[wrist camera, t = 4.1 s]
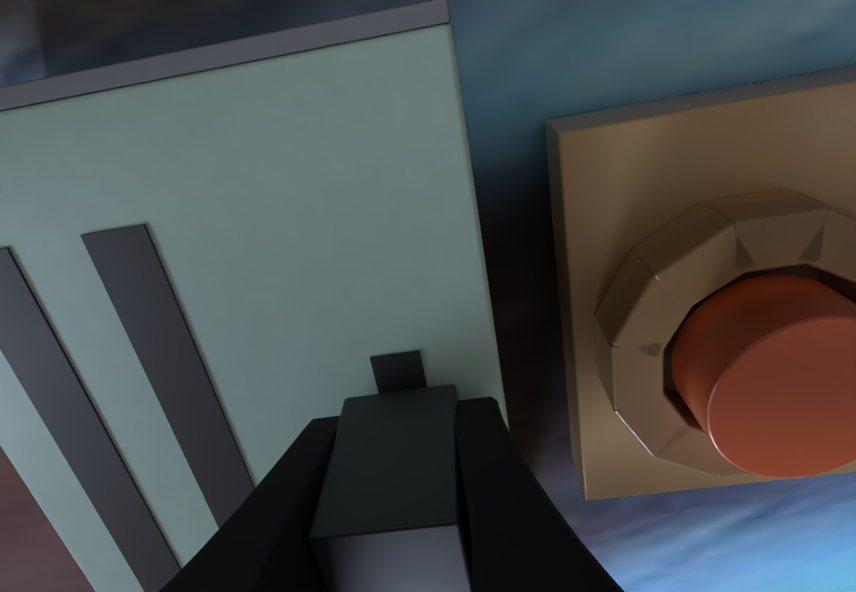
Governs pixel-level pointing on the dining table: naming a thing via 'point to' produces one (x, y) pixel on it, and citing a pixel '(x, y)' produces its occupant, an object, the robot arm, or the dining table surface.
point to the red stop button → (772, 374)
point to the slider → (394, 497)
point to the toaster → (228, 270)
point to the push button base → (686, 253)
